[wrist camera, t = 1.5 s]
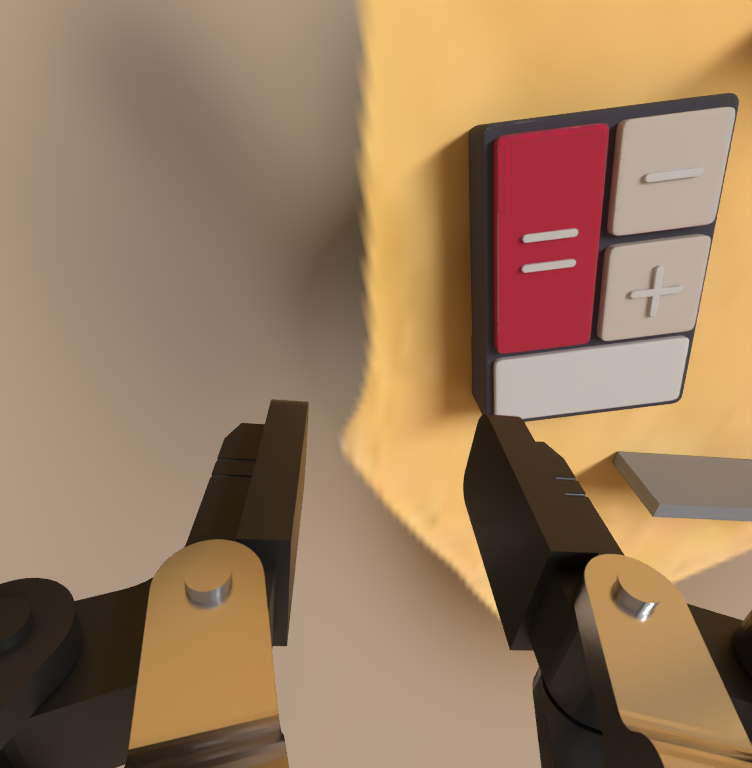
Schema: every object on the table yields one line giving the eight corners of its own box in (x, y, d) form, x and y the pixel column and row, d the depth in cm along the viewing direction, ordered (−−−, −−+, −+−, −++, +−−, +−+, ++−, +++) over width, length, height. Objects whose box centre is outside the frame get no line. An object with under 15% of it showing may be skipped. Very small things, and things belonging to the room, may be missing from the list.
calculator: (757, 89, 20) (690, 410, 26) (690, 97, 23) (647, 375, 30) (486, 123, 20) (489, 435, 26) (463, 126, 23) (471, 397, 30)
